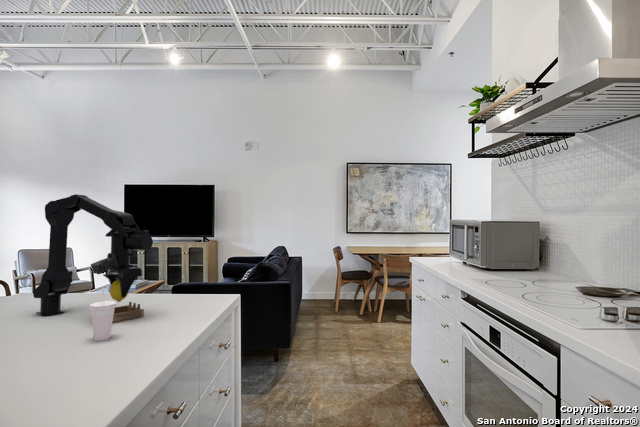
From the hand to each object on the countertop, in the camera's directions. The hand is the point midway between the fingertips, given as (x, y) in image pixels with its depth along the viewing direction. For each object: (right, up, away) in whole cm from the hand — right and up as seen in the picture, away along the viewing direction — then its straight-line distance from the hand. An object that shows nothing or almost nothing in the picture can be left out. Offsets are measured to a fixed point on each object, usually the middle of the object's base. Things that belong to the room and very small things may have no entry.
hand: (119, 295), depth 119 cm
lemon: (0, -2, 0) cm, 2 cm away
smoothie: (+8, -7, -22) cm, 24 cm away
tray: (0, -7, 0) cm, 7 cm away
